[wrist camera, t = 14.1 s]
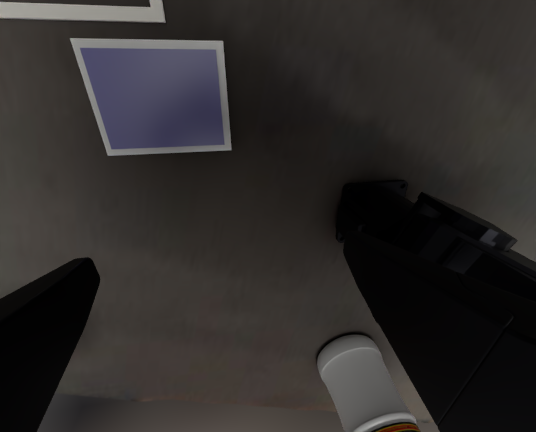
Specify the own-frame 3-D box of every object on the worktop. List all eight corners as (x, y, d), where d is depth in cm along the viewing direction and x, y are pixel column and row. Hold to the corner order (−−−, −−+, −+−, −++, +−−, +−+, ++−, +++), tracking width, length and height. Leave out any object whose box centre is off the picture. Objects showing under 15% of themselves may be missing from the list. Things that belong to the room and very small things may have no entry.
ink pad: (223, 43, 16) (222, 40, 15) (231, 147, 20) (231, 151, 19) (77, 40, 15) (67, 37, 14) (112, 152, 18) (106, 156, 17)
